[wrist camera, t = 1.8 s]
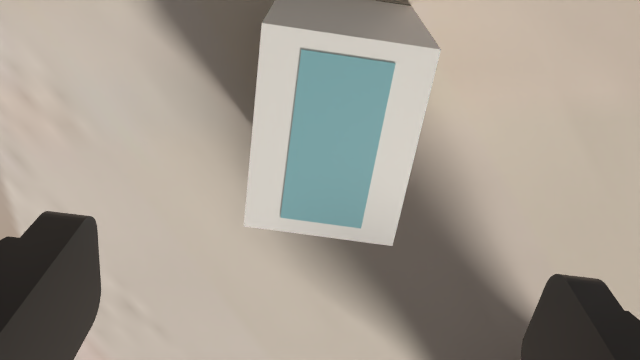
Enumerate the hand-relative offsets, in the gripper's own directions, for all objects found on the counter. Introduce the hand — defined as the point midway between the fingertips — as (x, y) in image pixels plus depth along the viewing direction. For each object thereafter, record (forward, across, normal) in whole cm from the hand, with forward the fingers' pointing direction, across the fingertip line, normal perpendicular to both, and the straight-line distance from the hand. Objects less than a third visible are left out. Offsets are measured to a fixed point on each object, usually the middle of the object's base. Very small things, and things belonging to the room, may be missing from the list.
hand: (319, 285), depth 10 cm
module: (+12, 0, 0) cm, 12 cm away
